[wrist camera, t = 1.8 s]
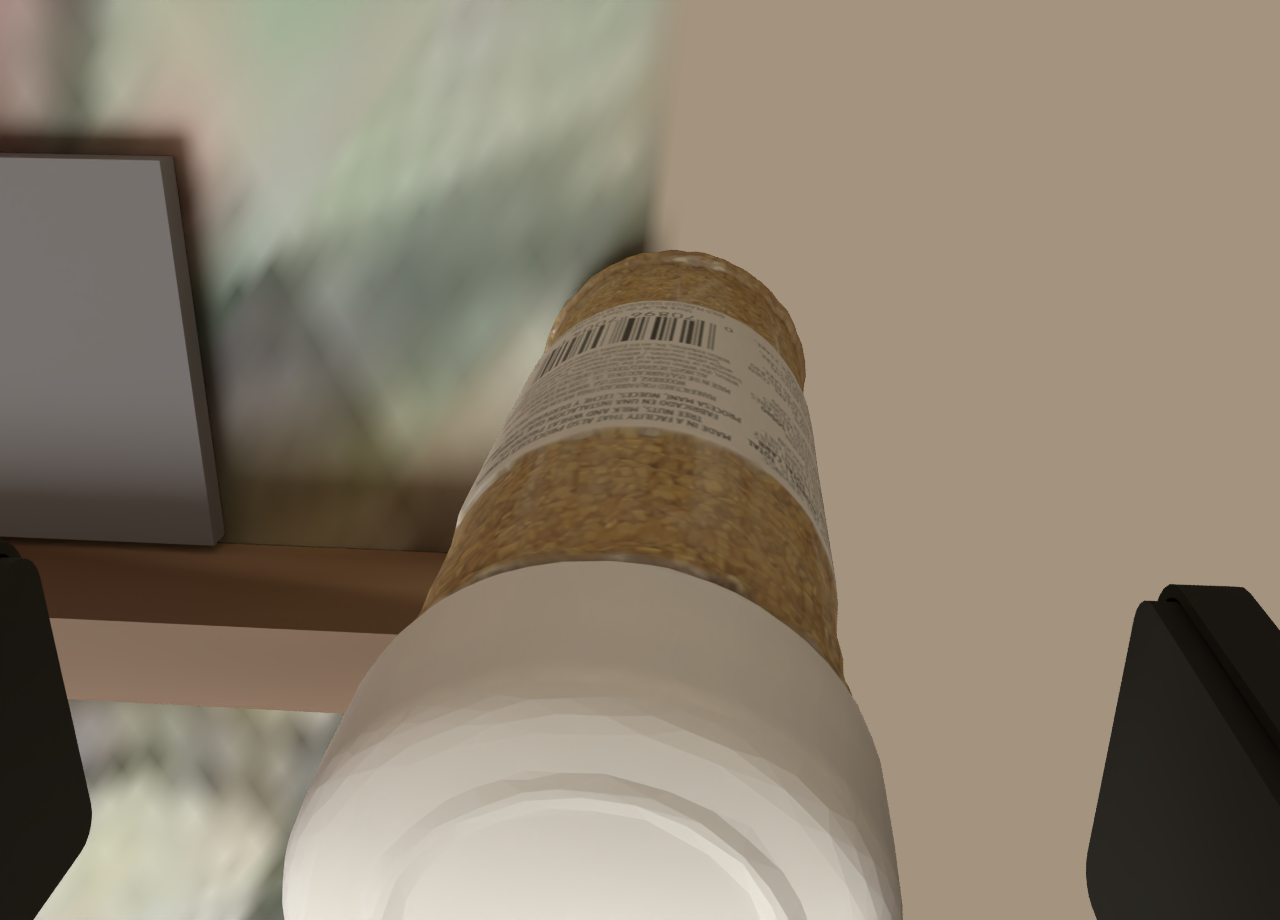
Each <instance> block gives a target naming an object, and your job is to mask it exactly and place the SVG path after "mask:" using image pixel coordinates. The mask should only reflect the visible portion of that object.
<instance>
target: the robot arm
mask: <svg viewBox="0 0 1280 920" xmlns="http://www.w3.org/2000/svg"><path fill="white" fill-rule="evenodd" d="M91 819H92V809H91V802H90V797H89V793H88V788H87V784H86V779H85V775H84V771H83V766H82V762H81V757H80V753H79V748H78V744H77V739H76V735H75V730H74V726H73V721H72V717H71V712H70V708H69V703H68V699H67V694H66V690H65V685H64V681H63V677H62V672H61V668H60V663H59V659H58V654H57V650H56V645H55V641H54V636H53V632H52V627H51V623H50V618H49V614H48V609H47V605H46V600H45V596H44V591H43V587H42V583H41V578H40V575H39V572H38V569H37V567H36V566H35V565H34V563H33V562H32V561H30V560H28V559H26V558H21V555H20V554H19V552H18V551H17V549H16V548H15V547H14V546H13V545H11V544H10V543H8V542H6V541H0V920H33V919H34V918H35V917H36V915H37V914H38V912H39V911H40V910H41V908H42V907H43V905H44V904H45V902H46V901H47V900H48V898H49V897H50V895H51V894H52V892H53V891H54V890H55V888H56V887H57V885H58V884H59V882H60V881H61V880H62V878H63V877H64V875H65V874H66V873H67V871H68V870H69V868H70V867H71V865H72V864H73V863H74V861H75V860H76V858H77V857H78V855H79V854H80V853H81V851H82V849H83V847H84V846H85V844H86V841H87V838H88V835H89V832H90V827H91ZM1086 878H1087V888H1088V894H1089V898H1090V902H1091V905H1092V908H1093V910H1094V913H1095V916H1096V918H1097V920H1280V630H1279V629H1278V628H1277V626H1276V625H1275V624H1274V623H1273V621H1272V620H1271V619H1270V618H1269V616H1268V615H1267V614H1266V612H1265V611H1264V610H1263V609H1262V607H1261V606H1260V605H1259V604H1258V602H1257V601H1256V600H1255V599H1254V597H1253V596H1252V595H1251V594H1250V593H1249V592H1248V591H1247V590H1246V589H1245V588H1243V587H1230V586H1202V585H1201V586H1199V585H1175V584H1170V585H1168V586H1167V587H1165V588H1164V589H1163V591H1162V593H1161V594H1160V596H1159V599H1158V601H1143V602H1142V603H1141V604H1140V605H1139V607H1138V608H1137V611H1136V614H1135V617H1134V622H1133V627H1132V632H1131V637H1130V642H1129V647H1128V652H1127V657H1126V662H1125V667H1124V672H1123V677H1122V682H1121V687H1120V692H1119V697H1118V702H1117V707H1116V712H1115V717H1114V723H1113V727H1112V733H1111V738H1110V742H1109V747H1108V752H1107V758H1106V763H1105V768H1104V773H1103V778H1102V783H1101V788H1100V793H1099V798H1098V803H1097V808H1096V813H1095V818H1094V823H1093V828H1092V833H1091V838H1090V843H1089V848H1088V853H1087V861H1086Z"/></svg>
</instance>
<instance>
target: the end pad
mask: <svg viewBox="0 0 1280 920" xmlns="http://www.w3.org/2000/svg"><path fill="white" fill-rule="evenodd" d="M224 534H225V531H224V523H223V516H222V509H221V502H220V494H219V487H218V480H217V473H216V465H215V458H214V451H213V444H212V436H211V429H210V422H209V415H208V407H207V400H206V393H205V385H204V378H203V371H202V364H201V356H200V349H199V342H198V335H197V327H196V320H195V313H194V306H193V298H192V291H191V284H190V277H189V269H188V262H187V255H186V248H185V240H184V233H183V226H182V219H181V211H180V204H179V197H178V190H177V182H176V175H175V168H174V161H173V156H139V155H87V154H36V153H0V536H1V537H24V538H47V539H71V540H94V541H117V542H140V543H164V544H187V545H210V546H214V545H215V544H216V543H217V542H218V541H219V540H220V539H221V538H222V537H223V536H224Z"/></svg>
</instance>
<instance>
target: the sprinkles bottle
mask: <svg viewBox="0 0 1280 920" xmlns="http://www.w3.org/2000/svg"><path fill="white" fill-rule="evenodd" d="M805 375H806V374H805V360H804V354H803V349H802V344H801V342H800V339H799V337H798V335H797V332H796V329H795V326H794V323H793V321H792V319H791V317H790V315H789V313H788V311H787V310H786V309H785V308H784V307H783V306H782V305H781V304H780V303H779V301H778V300H777V299H776V298H775V296H774V295H773V294H772V292H771V291H770V290H769V289H768V288H767V287H766V286H764V284H762V283H761V282H760V281H759V280H757V279H756V278H755V277H753V276H752V275H751V274H750V273H748V272H747V271H745V270H743V269H742V268H739V267H737V266H735V265H733V264H731V263H729V262H727V261H726V260H724V259H720V258H718V257H715V256H711V255H709V254H706V253H700V252H684V251H679V250H668V251H663V252H658V253H650V252H647V253H641V254H637V255H634V256H631V257H627V258H626V259H624V260H622V261H620V262H618V263H615V264H613V265H611V266H608V267H606V268H605V269H603V270H602V271H600V272H598V273H597V274H595V275H594V276H592V277H591V278H590V279H589V280H588V281H587V282H586V283H585V284H584V285H583V286H582V287H581V288H580V290H579V291H578V292H577V293H576V295H574V296H573V297H572V298H571V299H569V300H568V301H567V302H566V303H565V305H564V306H563V308H562V310H561V311H560V313H559V315H558V317H557V319H556V321H555V323H554V325H553V327H552V329H551V332H550V334H549V337H548V340H547V343H546V347H545V351H544V354H543V356H542V357H541V358H540V360H539V361H538V363H537V364H536V366H535V368H534V369H533V371H532V372H531V374H530V376H529V378H528V380H527V382H526V384H525V386H524V388H523V390H522V391H521V393H520V395H519V397H518V399H517V401H516V403H515V405H514V407H513V409H512V411H511V412H510V414H509V416H508V418H507V420H506V422H505V424H504V426H503V428H502V430H501V432H500V433H499V435H498V437H497V439H496V441H495V443H494V445H493V446H492V448H491V451H490V453H489V455H488V457H487V459H486V461H485V463H484V464H483V466H482V468H481V471H480V473H479V475H478V476H477V478H476V480H475V482H474V484H473V486H472V488H471V490H470V492H469V494H468V496H467V498H466V500H465V502H464V504H463V506H462V508H461V510H460V513H459V515H458V520H457V524H456V529H455V533H454V537H453V540H452V544H451V547H450V549H449V551H448V554H447V556H446V559H445V560H444V563H443V565H442V567H441V569H440V571H439V573H438V575H437V577H436V579H435V581H434V583H433V584H432V586H431V588H430V590H429V593H428V595H427V598H426V600H425V603H424V606H423V608H422V611H421V612H420V614H419V615H418V616H417V618H416V619H415V620H414V622H412V623H411V624H410V625H409V626H407V627H406V628H405V629H404V630H403V631H401V632H400V633H399V634H398V635H397V636H396V638H395V639H394V640H393V641H392V642H391V643H390V644H389V645H388V646H387V647H386V648H385V649H384V651H383V652H382V653H381V655H380V656H379V657H378V658H377V660H376V661H375V662H374V664H373V665H372V666H371V667H370V669H369V670H368V672H367V674H366V675H365V677H364V678H363V680H362V681H361V683H360V684H359V686H358V688H357V690H356V692H355V694H354V696H353V698H352V700H351V702H350V704H349V706H348V708H347V710H346V712H345V714H344V716H343V718H342V720H341V722H340V724H339V726H338V728H337V730H336V732H335V734H334V736H333V738H332V740H331V742H330V744H329V746H328V748H327V750H326V752H325V755H324V757H323V759H322V761H321V763H320V765H319V767H318V769H317V771H316V774H315V776H314V778H313V780H312V782H311V784H310V786H309V789H308V792H307V794H306V797H305V799H304V802H303V804H302V807H301V809H300V812H299V814H298V817H297V819H296V822H295V824H294V827H293V829H292V832H291V834H290V838H289V842H288V846H287V850H286V854H285V864H284V873H283V898H282V904H283V911H284V919H285V920H902V919H903V917H902V899H901V892H900V885H899V876H898V869H897V861H896V853H895V845H894V839H893V833H892V827H891V821H890V815H889V809H888V803H887V796H886V790H885V785H884V779H883V774H882V768H881V763H880V759H879V757H878V754H877V751H876V748H875V745H874V742H873V739H872V736H871V734H870V732H869V730H868V727H867V725H866V723H865V721H864V718H863V716H862V714H861V712H860V709H859V707H858V705H857V703H856V702H855V700H854V699H853V697H852V694H851V692H850V689H849V687H848V685H847V683H846V682H845V679H844V675H843V658H842V654H841V650H840V647H839V642H838V639H837V611H838V601H837V590H836V580H835V574H834V568H833V562H832V555H831V549H830V543H829V537H828V531H827V526H826V519H825V513H824V506H823V500H822V494H821V489H820V482H819V476H818V468H817V461H816V453H815V446H814V438H813V431H812V426H811V421H810V416H809V412H808V406H807V404H806V401H805V398H804V395H803V387H804V382H805V377H806V376H805Z"/></svg>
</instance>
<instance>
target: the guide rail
mask: <svg viewBox="0 0 1280 920" xmlns="http://www.w3.org/2000/svg"><path fill="white" fill-rule="evenodd" d="M0 541H6V542H8V543H10V544H11V545H13V546H14V547H15V548H16V549H17V551H18V552H19V554H20V555H21V558H26V559H28V560H30V561H32V562H33V563H34V565H35V566H36V567H37V569H38V572H39V575H40V578H41V583H42V587H43V591H44V596H45V600H46V605H47V609H48V614H49V618H50V623H51V627H52V632H53V636H54V641H55V645H56V650H57V654H58V659H59V663H60V668H61V672H62V677H63V681H64V685H65V690H66V694H67V699H77V700H96V701H115V702H134V703H153V704H172V705H191V706H209V707H228V708H247V709H266V710H285V711H304V712H323V713H342V714H345V712H346V710H347V708H348V706H349V704H350V702H351V700H352V698H353V696H354V694H355V692H356V690H357V688H358V686H359V684H360V683H361V681H362V680H363V678H364V677H365V675H366V674H367V672H368V670H369V669H370V667H371V666H372V665H373V664H374V662H375V661H376V660H377V658H378V657H379V656H380V655H381V653H382V652H383V651H384V649H385V648H386V647H387V646H388V645H389V644H390V643H391V642H392V641H393V640H394V639H395V638H396V636H397V635H398V634H399V633H400V632H401V631H403V630H404V629H405V628H406V627H407V626H409V625H410V624H411V623H412V622H414V620H415V619H416V618H417V616H418V615H419V614H420V612H421V611H422V608H423V606H424V603H425V600H426V598H427V595H428V593H429V590H430V588H431V586H432V584H433V583H434V581H435V579H436V577H437V575H438V573H439V571H440V569H441V567H442V565H443V563H444V560H445V559H446V556H447V554H448V553H437V552H414V551H391V550H368V549H344V548H321V547H298V546H274V545H251V544H228V543H216V544H215V545H214V546H210V545H187V544H164V543H140V542H117V541H94V540H71V539H47V538H24V537H1V536H0Z"/></svg>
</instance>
